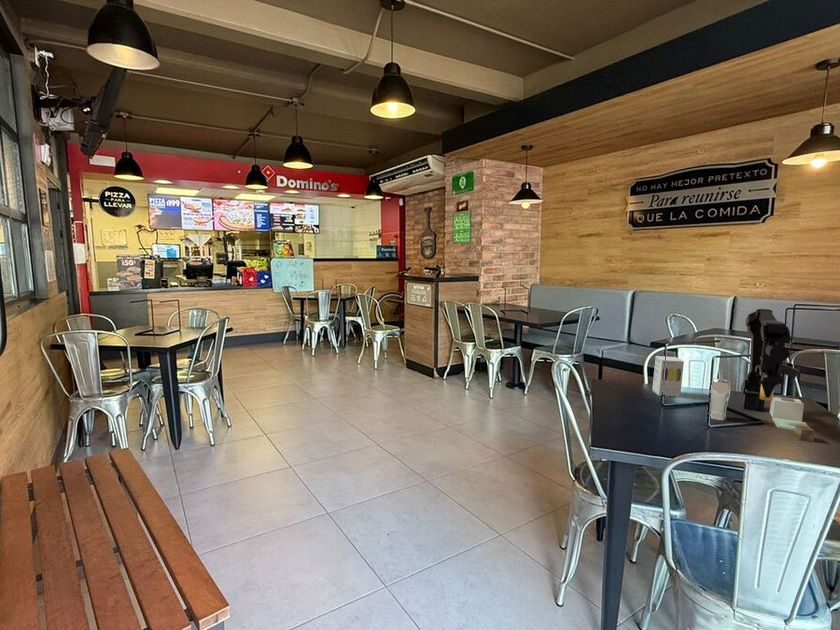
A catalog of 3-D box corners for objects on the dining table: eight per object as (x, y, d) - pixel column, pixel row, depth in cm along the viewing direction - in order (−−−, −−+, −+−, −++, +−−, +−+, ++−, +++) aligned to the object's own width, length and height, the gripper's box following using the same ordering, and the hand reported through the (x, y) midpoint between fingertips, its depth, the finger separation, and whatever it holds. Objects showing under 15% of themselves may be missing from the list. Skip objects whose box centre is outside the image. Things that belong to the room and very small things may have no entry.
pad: (777, 427, 170) (777, 425, 170) (772, 419, 179) (772, 417, 179) (811, 433, 165) (812, 431, 165) (804, 424, 174) (805, 422, 174)
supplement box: (658, 396, 207) (661, 359, 204) (651, 390, 216) (654, 355, 213) (681, 397, 205) (684, 360, 203) (673, 391, 214) (676, 356, 212)
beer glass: (725, 416, 182) (729, 379, 180) (729, 422, 175) (733, 384, 173) (705, 413, 185) (709, 377, 183) (708, 419, 178) (711, 381, 176)
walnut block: (800, 440, 159) (801, 429, 158) (793, 436, 163) (795, 425, 162) (813, 441, 158) (814, 430, 157) (806, 437, 162) (808, 426, 161)
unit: (772, 417, 181) (774, 399, 180) (769, 412, 187) (771, 394, 186) (802, 422, 176) (805, 403, 175) (798, 416, 182) (800, 398, 181)
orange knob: (760, 399, 173) (762, 384, 172) (758, 396, 176) (760, 381, 175) (773, 401, 171) (775, 386, 170) (771, 398, 174) (773, 383, 173)
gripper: (805, 363, 159) (799, 406, 161) (792, 353, 175) (787, 393, 177) (765, 359, 164) (760, 401, 166) (757, 350, 181) (752, 388, 183)
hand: (766, 396), depth 173 cm, fingers closed on orange knob, 4 cm apart
